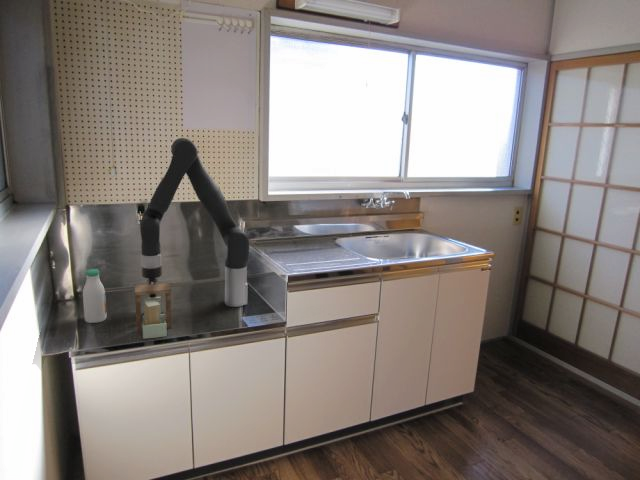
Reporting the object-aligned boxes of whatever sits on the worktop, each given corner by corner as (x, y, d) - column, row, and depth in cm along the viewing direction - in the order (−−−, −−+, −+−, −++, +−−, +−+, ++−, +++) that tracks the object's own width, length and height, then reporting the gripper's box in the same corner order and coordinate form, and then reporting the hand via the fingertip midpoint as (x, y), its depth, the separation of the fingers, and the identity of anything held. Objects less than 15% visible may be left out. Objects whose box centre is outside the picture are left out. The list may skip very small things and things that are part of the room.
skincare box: (144, 330, 171) (142, 300, 168) (156, 328, 174) (155, 298, 171) (149, 337, 166) (147, 306, 163) (161, 335, 169) (160, 304, 166)
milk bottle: (103, 323, 175) (100, 274, 170) (81, 323, 174) (77, 273, 168) (109, 315, 182) (106, 267, 177) (88, 315, 181) (84, 267, 176)
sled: (164, 313, 186) (163, 296, 184) (166, 336, 168) (166, 317, 166) (142, 315, 183) (141, 298, 181) (143, 338, 165) (142, 320, 163)
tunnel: (170, 320, 181) (169, 283, 177) (171, 328, 175) (170, 289, 171) (136, 323, 176) (135, 285, 172) (136, 331, 170) (134, 292, 166)
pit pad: (163, 312, 188) (163, 311, 187) (164, 318, 183) (164, 317, 182) (142, 314, 185) (142, 313, 185) (142, 320, 180) (142, 319, 180)
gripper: (162, 269, 178) (163, 310, 182) (161, 258, 190) (162, 297, 194) (141, 270, 175) (143, 312, 180) (141, 259, 187) (143, 299, 192)
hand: (153, 304), depth 187 cm, fingers closed
